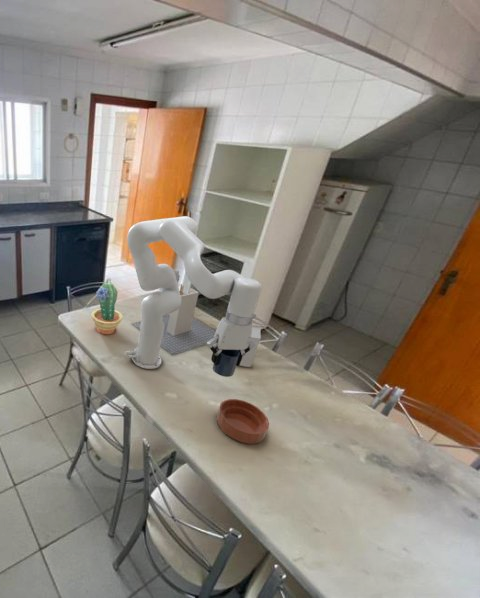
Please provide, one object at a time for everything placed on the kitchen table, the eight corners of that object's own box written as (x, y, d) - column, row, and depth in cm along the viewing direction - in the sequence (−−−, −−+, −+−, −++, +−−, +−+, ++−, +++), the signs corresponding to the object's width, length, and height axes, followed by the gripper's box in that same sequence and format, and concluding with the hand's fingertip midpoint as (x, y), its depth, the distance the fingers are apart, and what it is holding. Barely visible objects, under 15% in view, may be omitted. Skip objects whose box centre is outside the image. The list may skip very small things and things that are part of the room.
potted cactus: (86, 323, 168) (89, 278, 157) (114, 320, 172) (118, 276, 161) (96, 339, 155) (100, 291, 144) (126, 335, 159) (132, 289, 148)
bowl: (228, 445, 104) (232, 433, 102) (209, 409, 118) (212, 398, 116) (273, 444, 105) (278, 433, 103) (249, 409, 119) (253, 399, 116)
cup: (217, 376, 108) (223, 357, 105) (209, 364, 115) (214, 345, 111) (237, 376, 109) (243, 357, 105) (228, 364, 115) (233, 345, 111)
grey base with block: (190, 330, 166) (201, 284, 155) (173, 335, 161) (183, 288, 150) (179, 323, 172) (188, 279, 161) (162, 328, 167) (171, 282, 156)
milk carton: (250, 367, 141) (263, 330, 133) (233, 365, 142) (245, 327, 134) (246, 358, 147) (258, 321, 139) (229, 355, 148) (241, 319, 140)
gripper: (259, 311, 106) (244, 356, 114) (207, 311, 105) (196, 356, 113) (272, 323, 100) (255, 370, 108) (216, 322, 99) (204, 370, 106)
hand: (225, 362), depth 110 cm, fingers closed on cup, 6 cm apart
